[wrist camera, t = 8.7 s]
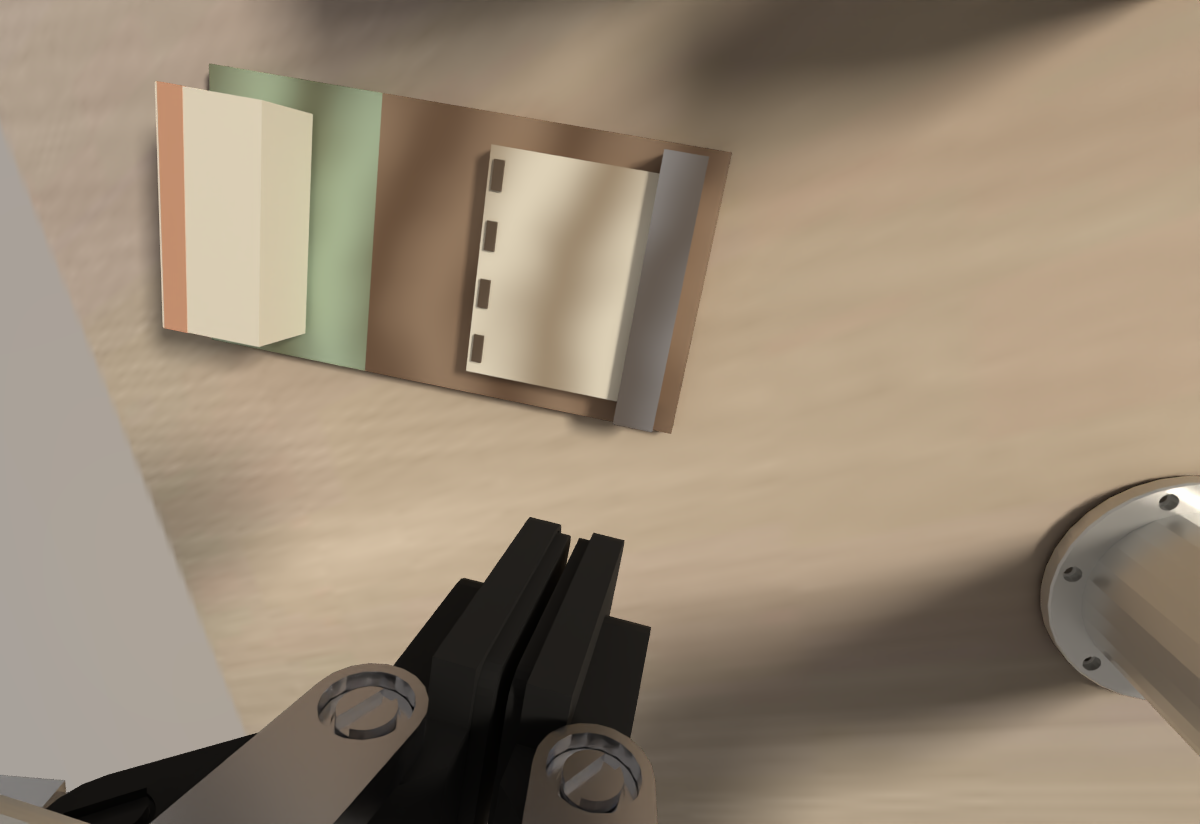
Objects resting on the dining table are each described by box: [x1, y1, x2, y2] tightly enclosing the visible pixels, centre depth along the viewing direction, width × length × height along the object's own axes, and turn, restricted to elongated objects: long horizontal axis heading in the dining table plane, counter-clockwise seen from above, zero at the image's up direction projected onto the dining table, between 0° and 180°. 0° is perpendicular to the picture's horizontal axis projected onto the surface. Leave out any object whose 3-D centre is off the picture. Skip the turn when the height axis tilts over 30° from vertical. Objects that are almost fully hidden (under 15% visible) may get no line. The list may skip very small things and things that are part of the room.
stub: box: [155, 81, 313, 347], centre depth 32 cm, size 5×11×4 cm, turn 170°
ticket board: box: [209, 64, 732, 434], centre depth 33 cm, size 26×14×3 cm, turn 80°
